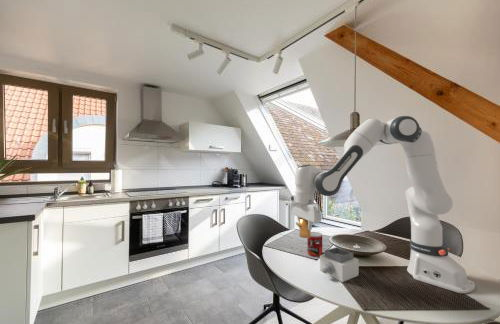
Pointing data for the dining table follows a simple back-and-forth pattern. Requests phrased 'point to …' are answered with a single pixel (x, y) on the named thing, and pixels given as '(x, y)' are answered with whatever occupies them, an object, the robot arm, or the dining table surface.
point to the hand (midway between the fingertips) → (305, 227)
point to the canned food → (315, 244)
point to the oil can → (303, 228)
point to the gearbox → (339, 264)
